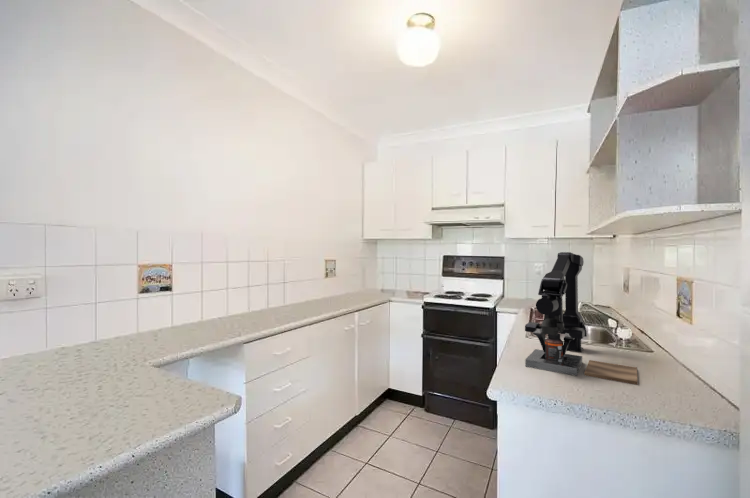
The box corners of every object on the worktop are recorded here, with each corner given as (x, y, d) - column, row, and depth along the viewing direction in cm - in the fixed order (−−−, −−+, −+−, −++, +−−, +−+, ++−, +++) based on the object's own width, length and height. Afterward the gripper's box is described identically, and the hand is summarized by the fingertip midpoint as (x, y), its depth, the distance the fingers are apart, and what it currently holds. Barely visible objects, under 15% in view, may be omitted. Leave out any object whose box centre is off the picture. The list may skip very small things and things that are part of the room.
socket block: (535, 355, 135) (535, 349, 136) (582, 363, 126) (582, 356, 126) (525, 366, 123) (525, 359, 123) (576, 375, 113) (576, 368, 113)
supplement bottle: (565, 367, 121) (565, 336, 121) (547, 366, 122) (547, 335, 122) (560, 362, 126) (560, 332, 127) (543, 361, 128) (543, 331, 128)
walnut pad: (589, 362, 126) (589, 359, 126) (636, 370, 118) (636, 367, 118) (584, 375, 113) (584, 372, 113) (637, 385, 105) (637, 381, 105)
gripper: (520, 311, 124) (520, 354, 124) (579, 317, 112) (579, 364, 112) (529, 307, 133) (529, 347, 133) (584, 312, 121) (585, 356, 121)
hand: (554, 353), depth 124 cm, fingers closed on supplement bottle, 6 cm apart
